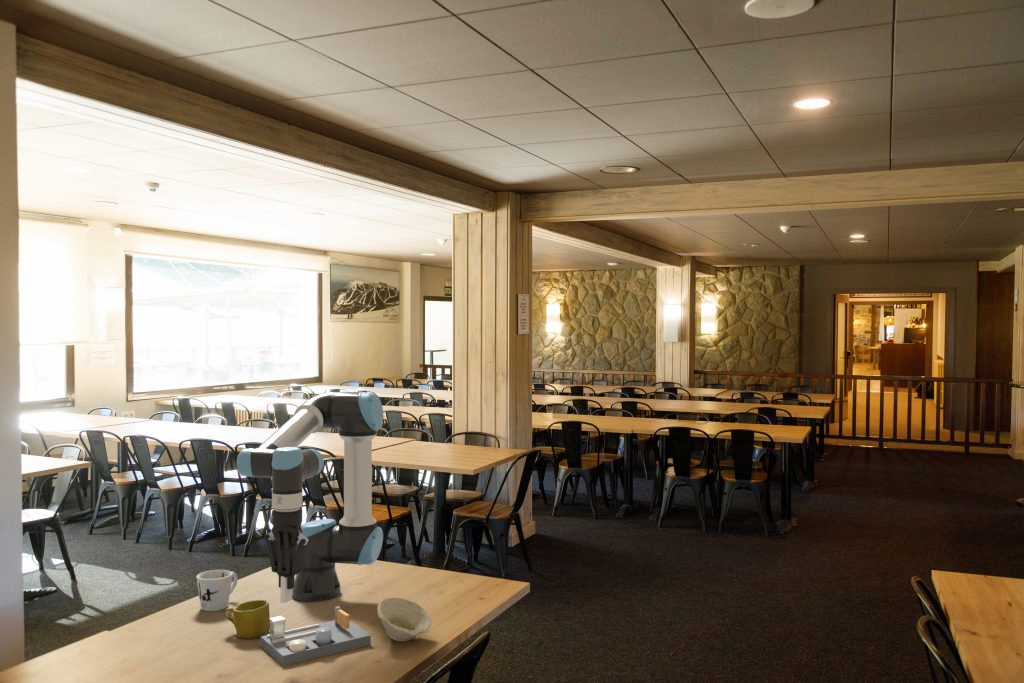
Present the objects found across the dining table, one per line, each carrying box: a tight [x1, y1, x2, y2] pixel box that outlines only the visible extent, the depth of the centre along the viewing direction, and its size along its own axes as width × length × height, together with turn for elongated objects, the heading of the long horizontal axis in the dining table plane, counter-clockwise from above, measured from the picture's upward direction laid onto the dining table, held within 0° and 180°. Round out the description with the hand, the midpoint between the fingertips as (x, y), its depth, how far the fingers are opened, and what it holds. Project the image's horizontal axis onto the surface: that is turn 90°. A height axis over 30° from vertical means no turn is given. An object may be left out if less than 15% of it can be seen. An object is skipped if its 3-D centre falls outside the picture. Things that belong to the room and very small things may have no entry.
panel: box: [260, 619, 372, 667], centre depth 210 cm, size 16×24×3 cm, turn 127°
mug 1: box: [196, 569, 239, 612], centre depth 241 cm, size 10×15×10 cm
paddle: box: [334, 606, 350, 629], centre depth 215 cm, size 7×1×5 cm, turn 37°
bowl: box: [376, 597, 432, 643], centre depth 214 cm, size 15×14×10 cm
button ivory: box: [290, 639, 306, 653], centre depth 201 cm, size 4×4×3 cm
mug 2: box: [223, 599, 270, 640], centre depth 218 cm, size 12×10×10 cm
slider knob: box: [269, 615, 287, 640], centre depth 207 cm, size 3×3×5 cm
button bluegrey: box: [316, 627, 332, 646], centre depth 206 cm, size 4×4×3 cm
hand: (286, 600), depth 202 cm, fingers closed
